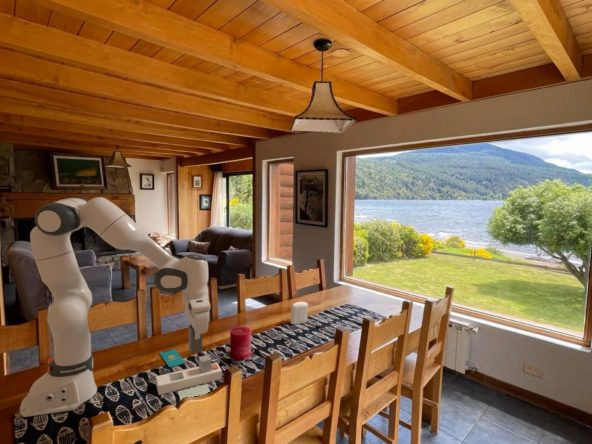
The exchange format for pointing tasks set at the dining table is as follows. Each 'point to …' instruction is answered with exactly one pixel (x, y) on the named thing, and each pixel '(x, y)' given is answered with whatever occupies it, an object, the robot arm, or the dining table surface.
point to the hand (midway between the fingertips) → (195, 335)
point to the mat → (193, 391)
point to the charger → (194, 341)
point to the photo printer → (299, 313)
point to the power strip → (189, 376)
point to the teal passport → (172, 358)
